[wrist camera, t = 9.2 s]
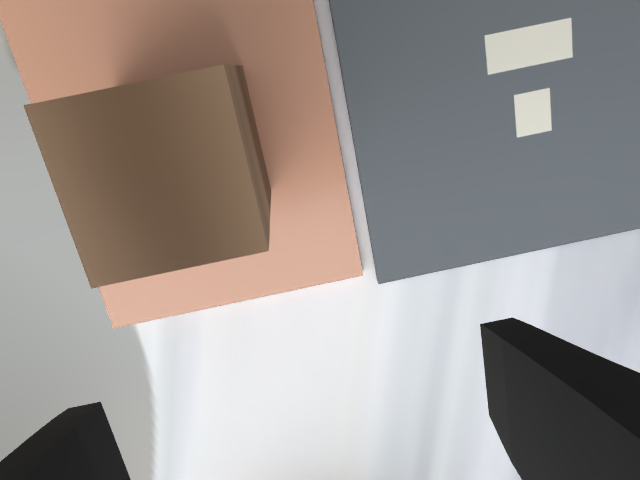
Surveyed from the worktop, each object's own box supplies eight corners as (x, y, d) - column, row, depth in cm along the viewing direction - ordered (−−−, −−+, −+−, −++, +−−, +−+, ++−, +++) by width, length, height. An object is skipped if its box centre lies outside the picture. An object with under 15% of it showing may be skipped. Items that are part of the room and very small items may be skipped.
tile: (299, -70, 15) (300, -73, 15) (361, 272, 19) (363, 275, 18) (-6, -8, 15) (-11, -10, 15) (115, 324, 19) (113, 328, 18)
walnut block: (242, 65, 16) (223, 64, 10) (271, 190, 17) (269, 251, 12) (113, 91, 16) (23, 105, 10) (152, 215, 17) (91, 288, 12)
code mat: (715, -174, 15) (721, -178, 15) (697, 213, 19) (702, 215, 19) (313, -94, 15) (313, -95, 15) (377, 281, 19) (378, 283, 19)
